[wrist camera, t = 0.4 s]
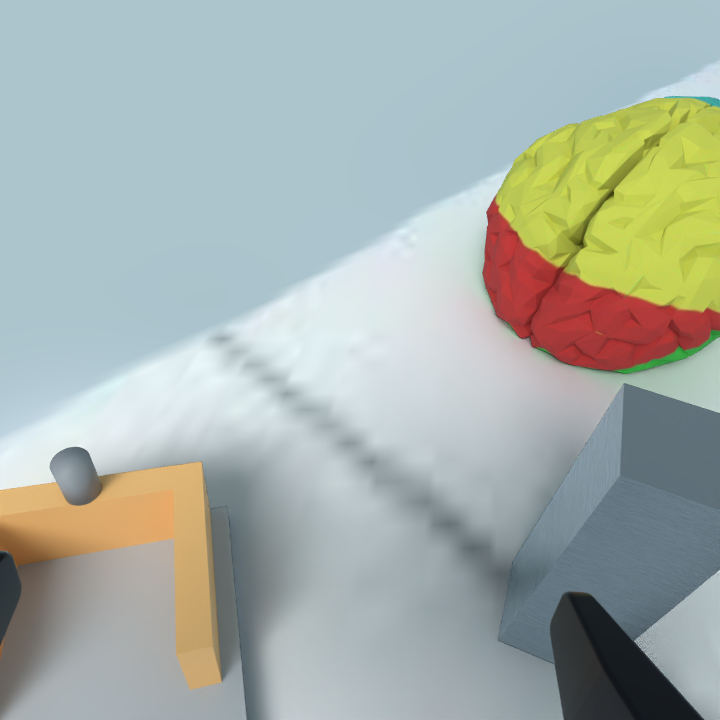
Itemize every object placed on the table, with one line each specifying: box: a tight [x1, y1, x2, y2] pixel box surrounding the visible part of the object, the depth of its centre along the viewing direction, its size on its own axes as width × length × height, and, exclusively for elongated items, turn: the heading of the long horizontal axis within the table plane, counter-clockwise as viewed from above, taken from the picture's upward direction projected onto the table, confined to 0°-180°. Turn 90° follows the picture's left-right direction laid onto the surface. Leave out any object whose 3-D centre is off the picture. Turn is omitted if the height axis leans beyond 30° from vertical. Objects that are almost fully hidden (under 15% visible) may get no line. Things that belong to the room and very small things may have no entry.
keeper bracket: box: [0, 447, 247, 720], centre depth 20 cm, size 12×11×7 cm
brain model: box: [483, 96, 720, 374], centre depth 40 cm, size 24×19×15 cm
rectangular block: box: [498, 383, 720, 664], centre depth 21 cm, size 4×4×13 cm
